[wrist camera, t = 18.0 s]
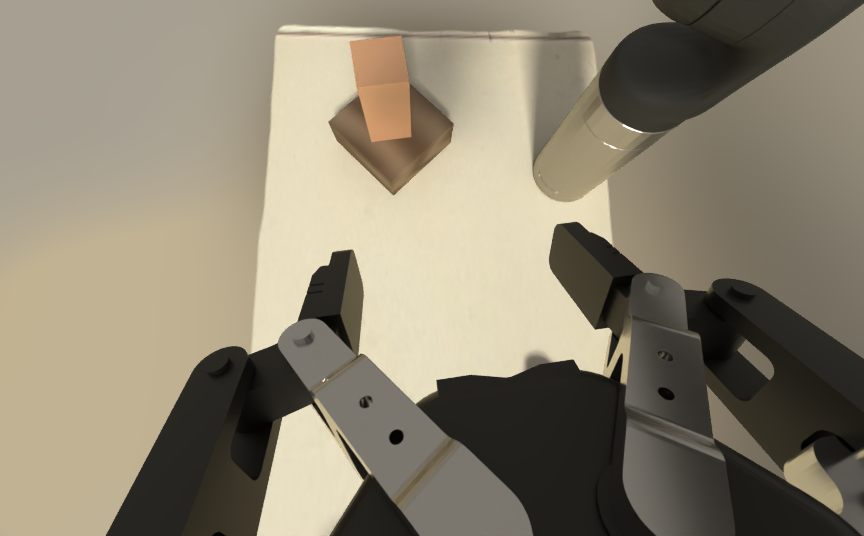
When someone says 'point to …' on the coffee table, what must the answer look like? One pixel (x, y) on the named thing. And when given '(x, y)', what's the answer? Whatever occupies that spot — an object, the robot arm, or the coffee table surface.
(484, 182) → the coffee table surface
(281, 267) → the coffee table surface
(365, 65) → the peach block
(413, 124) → the walnut block
